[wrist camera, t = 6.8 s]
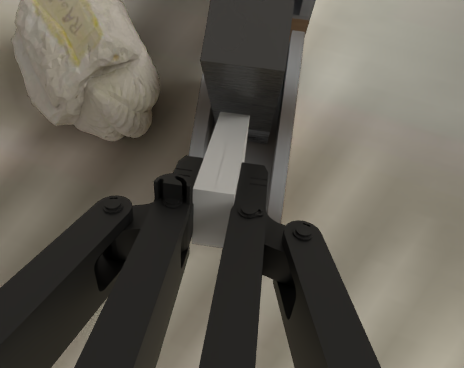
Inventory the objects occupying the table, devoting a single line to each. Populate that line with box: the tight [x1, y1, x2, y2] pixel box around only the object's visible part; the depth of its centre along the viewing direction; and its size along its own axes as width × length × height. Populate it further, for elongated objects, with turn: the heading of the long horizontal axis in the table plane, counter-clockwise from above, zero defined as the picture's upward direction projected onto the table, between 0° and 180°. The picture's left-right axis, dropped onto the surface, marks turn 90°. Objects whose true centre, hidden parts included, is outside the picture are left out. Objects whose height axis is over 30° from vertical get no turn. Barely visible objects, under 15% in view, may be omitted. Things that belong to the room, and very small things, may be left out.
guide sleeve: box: [189, 30, 305, 224], centre depth 25 cm, size 12×6×8 cm, turn 172°
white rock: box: [11, 0, 160, 141], centre depth 26 cm, size 12×8×10 cm
